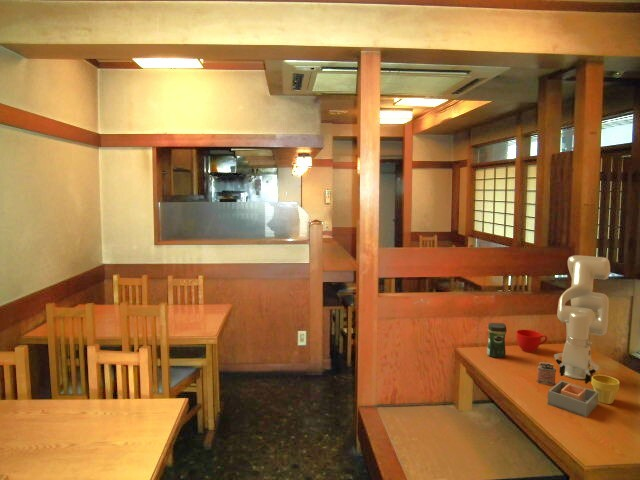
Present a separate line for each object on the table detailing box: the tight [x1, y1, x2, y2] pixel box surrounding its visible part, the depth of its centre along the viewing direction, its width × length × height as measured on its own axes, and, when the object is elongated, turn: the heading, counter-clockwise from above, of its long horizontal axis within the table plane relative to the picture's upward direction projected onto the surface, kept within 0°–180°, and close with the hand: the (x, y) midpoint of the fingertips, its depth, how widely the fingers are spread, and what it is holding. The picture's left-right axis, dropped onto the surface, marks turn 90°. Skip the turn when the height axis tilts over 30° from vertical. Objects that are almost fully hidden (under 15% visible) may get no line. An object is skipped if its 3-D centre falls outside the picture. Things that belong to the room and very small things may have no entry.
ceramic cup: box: [515, 329, 548, 353], centre depth 251 cm, size 13×17×10 cm
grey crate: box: [546, 380, 599, 418], centre depth 189 cm, size 15×15×6 cm
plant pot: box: [590, 374, 621, 405], centre depth 193 cm, size 10×10×10 cm
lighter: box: [535, 361, 557, 386], centre depth 210 cm, size 8×3×10 cm, turn 71°
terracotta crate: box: [561, 383, 586, 402], centre depth 189 cm, size 9×7×6 cm
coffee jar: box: [486, 322, 507, 358], centre depth 243 cm, size 10×8×19 cm
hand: (574, 378), depth 189 cm, fingers open, 9 cm apart
